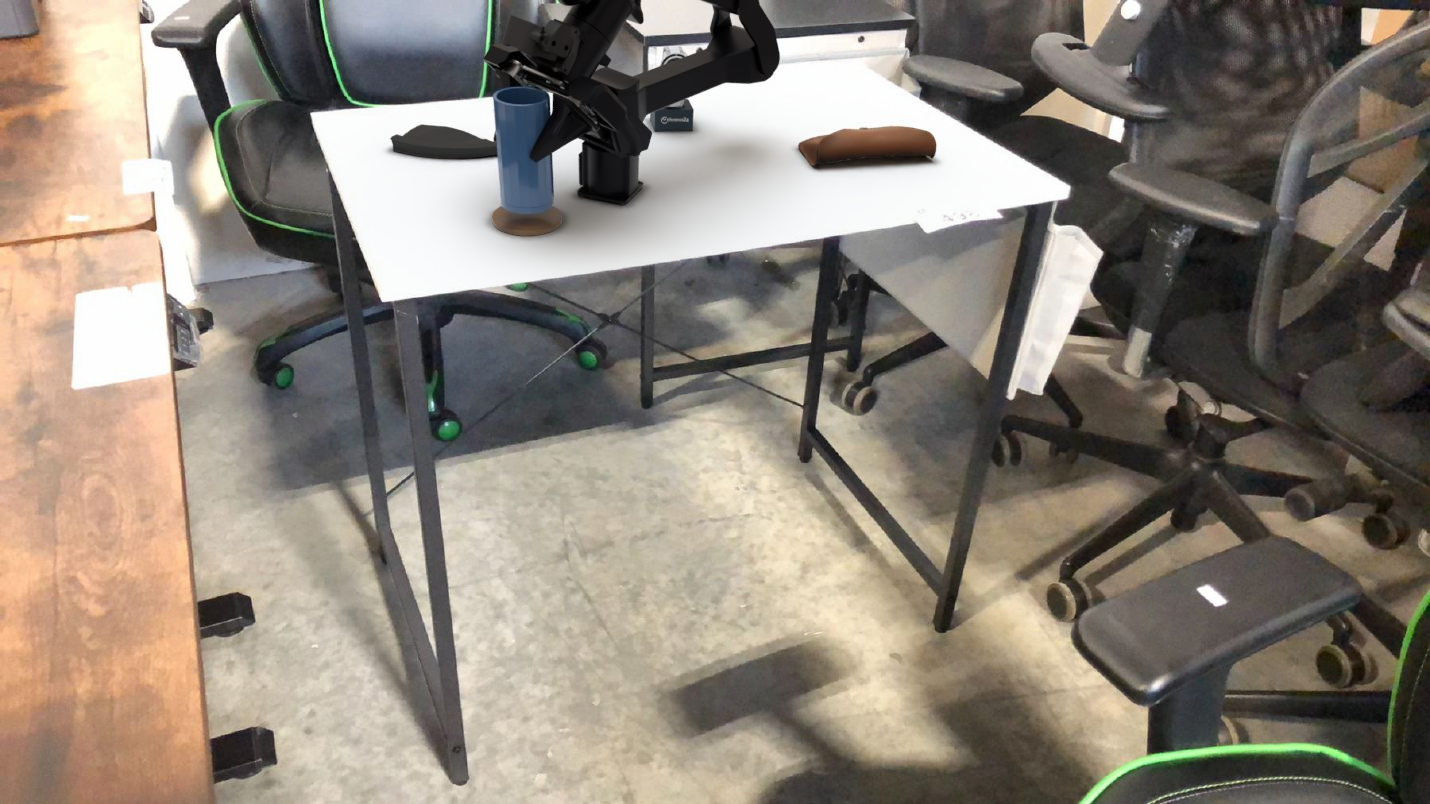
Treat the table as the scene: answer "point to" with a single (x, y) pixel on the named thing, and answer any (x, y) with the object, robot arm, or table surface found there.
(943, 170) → the table surface
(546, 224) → the coaster
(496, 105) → the pen cup
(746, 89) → the table surface
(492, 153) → the dark sector wedge
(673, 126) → the watch
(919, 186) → the table surface
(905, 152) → the sunglasses case
